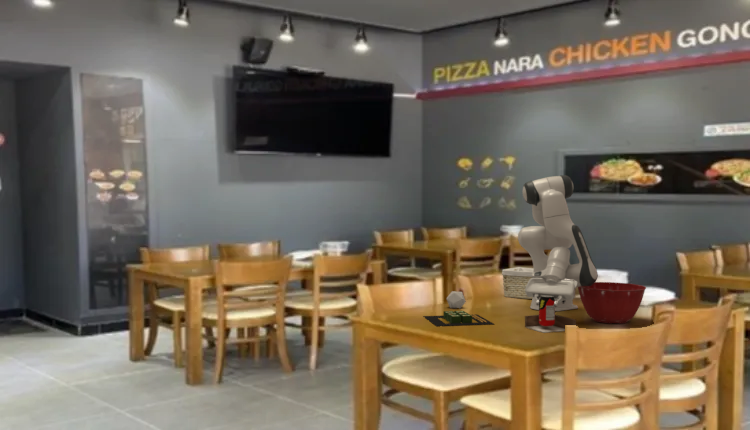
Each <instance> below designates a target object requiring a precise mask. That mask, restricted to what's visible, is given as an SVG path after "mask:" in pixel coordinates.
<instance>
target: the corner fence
mask: <svg viewBox="0 0 750 430" xmlns="http://www.w3.org/2000/svg"><path fill="white" fill-rule="evenodd" d="M565 325H576V326H577V319H574V318H570V317H567V316H562V315H558V314H555V324H554V325H553V326H542V325H541V324H539V314H533V315H531V314H530V315H525V316H524V327H525V328H526V329H529V330H533V331H535V332H539V333H543V334H545V333H553V332H554V333H555V332H566V331H565Z"/></svg>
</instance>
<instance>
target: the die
mask: <svg viewBox="0 0 750 430" xmlns="http://www.w3.org/2000/svg"><path fill="white" fill-rule="evenodd" d="M446 302H447V304H448V306H449V309H457V308H459V309H462V307H463V306H464V304H466V298H465V296H464V294H463V291H455V290H454V291H453V290H452V291H451V292H450V293H449V294H448V296H447V297H446Z"/></svg>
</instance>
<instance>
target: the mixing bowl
mask: <svg viewBox="0 0 750 430" xmlns="http://www.w3.org/2000/svg"><path fill="white" fill-rule="evenodd" d="M577 289H578V295H579V297H580V301H581V303H582V305H583V309H584V310H585V311H586V314H587V315H588V316H589V318H591V319H592V320H593V321H594V322H597V323H601V324H602V323H603V324H612V323H619V324H626V323H628V322H629V321H630V320H632V319H633V318H634V317H635V316H636V314H637V312H638V310H639V308H640V307H641V304H642V301H643V298H644V295H645V291H646V289H647V287H646V286H645V285H641V284H636V283H626V282H610V281H596V282H595V283H594V284H593V285H592V286H579V287H577Z"/></svg>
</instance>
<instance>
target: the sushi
mask: <svg viewBox="0 0 750 430" xmlns="http://www.w3.org/2000/svg"><path fill="white" fill-rule="evenodd" d="M422 317H423V318H424V317H425V318H424V319H425V320H426V321H428V320H429V323H431V324H432V325H434V326H435V327H437V328H438V327H439V328H440V326H442V327H461V326H462V327H463V326H464V327H465V326H466V327H467V326H493V325H494V326H495V324H496V323H493V321H490V320H488V319H486V318H484V317H483V316H481V315H479V314H478V313H477V314H471V313H470V314H469V313H468V312H466V311H465V310H454V311H453V310H448V311H447V310H444V311H443V315H424V316H423V315H422ZM441 319H444V320H445V319H446V321H447V323H445V322H444V321H442V320H441ZM448 321H449V323H448ZM473 321H476V322H473Z"/></svg>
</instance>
